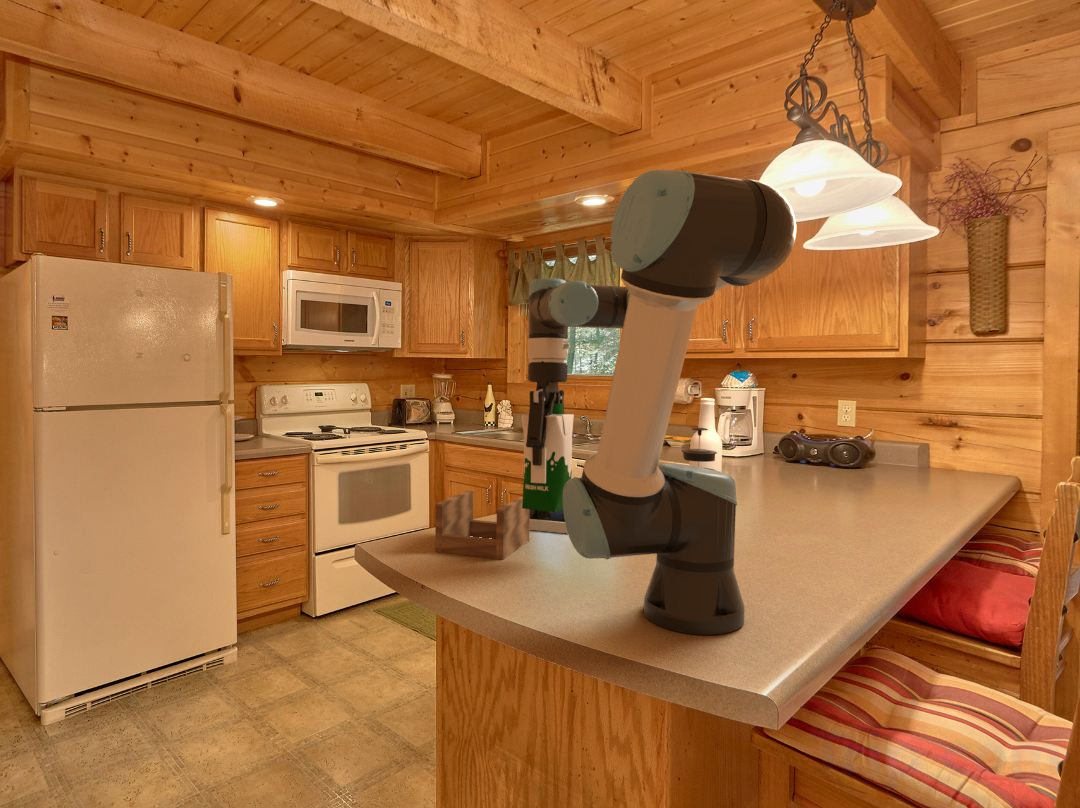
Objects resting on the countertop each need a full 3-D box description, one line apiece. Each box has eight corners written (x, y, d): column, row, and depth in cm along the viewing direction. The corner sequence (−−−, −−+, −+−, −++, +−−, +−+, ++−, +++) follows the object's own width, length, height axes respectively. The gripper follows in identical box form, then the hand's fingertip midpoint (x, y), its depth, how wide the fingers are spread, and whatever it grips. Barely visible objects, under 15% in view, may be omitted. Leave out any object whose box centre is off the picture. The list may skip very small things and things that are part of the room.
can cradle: (569, 534, 150) (569, 523, 150) (519, 529, 154) (520, 518, 154) (586, 520, 165) (586, 510, 165) (540, 515, 169) (541, 506, 169)
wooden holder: (503, 559, 130) (503, 509, 129) (435, 551, 135) (435, 503, 134) (529, 541, 144) (529, 495, 144) (466, 534, 149) (467, 490, 148)
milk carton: (577, 505, 129) (578, 403, 128) (556, 514, 121) (557, 404, 120) (537, 501, 133) (538, 402, 132) (514, 509, 125) (515, 403, 124)
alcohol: (715, 509, 180) (718, 399, 178) (684, 505, 185) (687, 398, 183) (724, 503, 187) (727, 398, 186) (694, 500, 192) (697, 397, 190)
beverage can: (543, 535, 153) (581, 531, 161) (548, 504, 152) (587, 501, 159) (520, 521, 160) (559, 517, 168) (526, 491, 159) (564, 488, 166)
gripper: (548, 359, 114) (547, 489, 115) (582, 362, 135) (580, 472, 135) (508, 359, 116) (507, 486, 117) (547, 362, 137) (546, 470, 138)
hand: (546, 478), depth 126 cm, fingers closed on milk carton, 9 cm apart
